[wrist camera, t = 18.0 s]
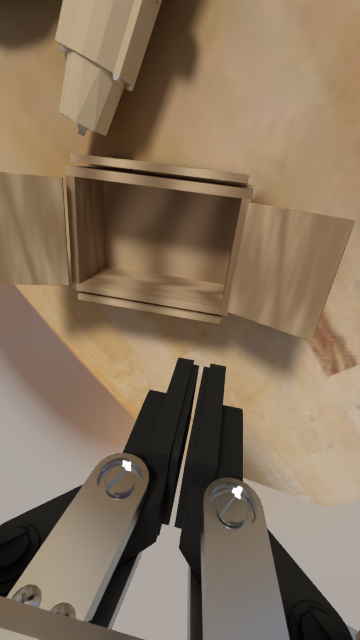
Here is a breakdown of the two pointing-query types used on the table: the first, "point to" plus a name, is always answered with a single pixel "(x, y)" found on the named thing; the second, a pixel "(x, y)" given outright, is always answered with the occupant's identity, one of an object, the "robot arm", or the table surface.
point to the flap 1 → (32, 230)
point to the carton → (155, 235)
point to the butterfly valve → (101, 56)
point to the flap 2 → (287, 267)
